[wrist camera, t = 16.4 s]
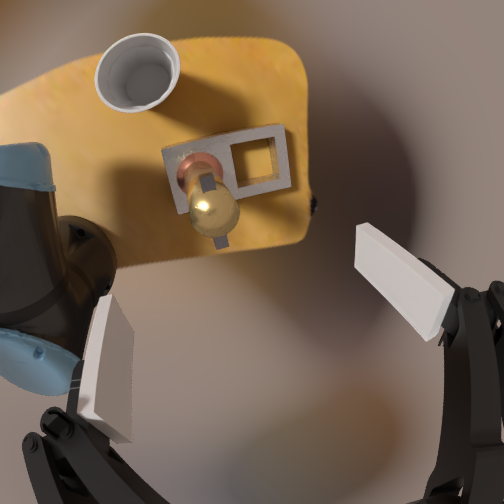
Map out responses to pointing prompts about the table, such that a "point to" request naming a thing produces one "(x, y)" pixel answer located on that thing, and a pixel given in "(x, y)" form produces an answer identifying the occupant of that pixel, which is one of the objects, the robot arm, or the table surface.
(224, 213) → the brass cylinder with tabs
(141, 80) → the cup
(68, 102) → the table surface
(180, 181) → the plate with copper dome
